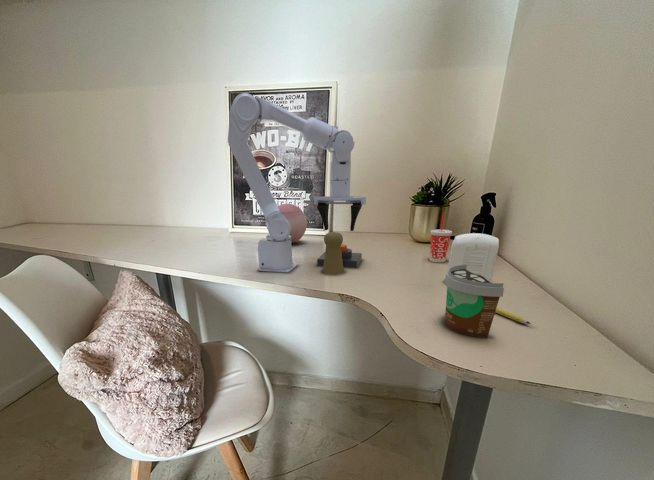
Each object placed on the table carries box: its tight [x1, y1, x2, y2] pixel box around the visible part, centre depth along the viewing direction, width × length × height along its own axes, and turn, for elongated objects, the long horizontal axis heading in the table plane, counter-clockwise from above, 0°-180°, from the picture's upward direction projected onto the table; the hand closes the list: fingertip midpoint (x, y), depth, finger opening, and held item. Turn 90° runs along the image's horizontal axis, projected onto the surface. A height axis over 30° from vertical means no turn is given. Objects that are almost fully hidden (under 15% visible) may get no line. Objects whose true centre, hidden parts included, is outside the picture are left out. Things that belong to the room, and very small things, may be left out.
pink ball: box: [277, 203, 308, 244], centre depth 129 cm, size 15×15×15 cm
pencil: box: [495, 307, 531, 325], centre depth 66 cm, size 1×14×1 cm, turn 24°
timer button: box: [341, 243, 348, 252], centre depth 102 cm, size 4×4×2 cm
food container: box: [443, 265, 505, 338], centre depth 59 cm, size 12×6×10 cm, turn 5°
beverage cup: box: [429, 213, 453, 263], centre depth 101 cm, size 6×6×14 cm
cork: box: [322, 231, 345, 276], centre depth 93 cm, size 6×6×11 cm
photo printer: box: [446, 232, 500, 283], centre depth 80 cm, size 10×4×12 cm, turn 72°
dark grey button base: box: [316, 247, 363, 269], centre depth 103 cm, size 12×10×4 cm
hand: (339, 230), depth 98 cm, fingers open, 7 cm apart
